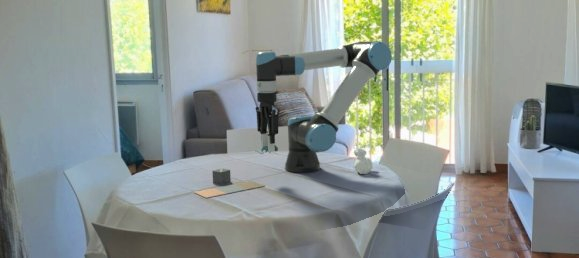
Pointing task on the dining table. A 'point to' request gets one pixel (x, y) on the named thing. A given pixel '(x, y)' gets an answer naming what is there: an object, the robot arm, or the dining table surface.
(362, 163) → the duck figurine
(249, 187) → the game board
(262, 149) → the dragon figurine
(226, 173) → the die
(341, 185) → the dining table surface
